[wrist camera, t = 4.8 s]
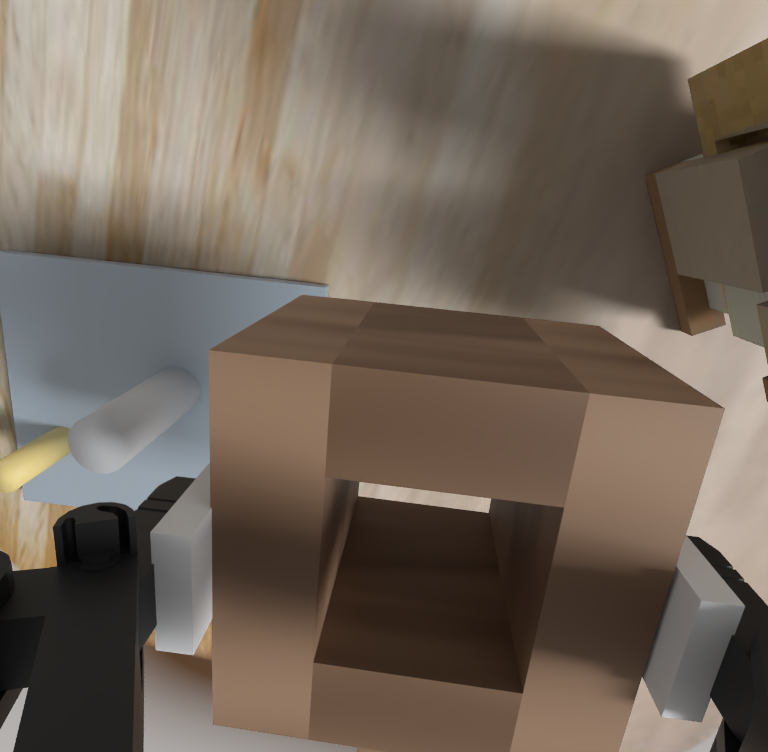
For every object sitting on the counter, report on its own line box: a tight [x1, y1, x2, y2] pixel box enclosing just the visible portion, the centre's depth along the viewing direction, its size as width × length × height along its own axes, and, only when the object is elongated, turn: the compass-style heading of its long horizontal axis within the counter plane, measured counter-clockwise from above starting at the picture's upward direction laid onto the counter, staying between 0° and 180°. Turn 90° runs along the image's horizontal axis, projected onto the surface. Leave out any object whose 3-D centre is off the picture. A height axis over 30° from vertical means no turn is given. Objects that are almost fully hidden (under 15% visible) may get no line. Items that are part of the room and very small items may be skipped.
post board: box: [0, 250, 329, 511], centre depth 28 cm, size 16×19×9 cm
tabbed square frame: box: [209, 295, 725, 752], centre depth 14 cm, size 13×9×7 cm
